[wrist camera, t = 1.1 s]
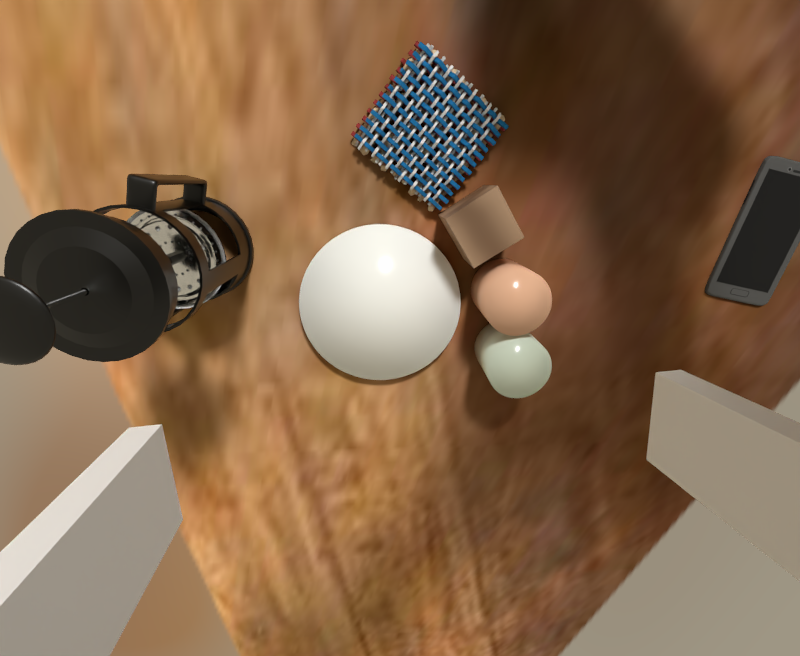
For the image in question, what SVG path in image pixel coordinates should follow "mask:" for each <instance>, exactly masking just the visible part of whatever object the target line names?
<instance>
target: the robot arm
mask: <svg viewBox="0 0 800 656" xmlns="http://www.w3.org/2000/svg"><path fill="white" fill-rule="evenodd" d="M646 460H647V461H649V462H650V463H651V464H652V465H654V466H655V467H656V468H657V469H659V470H660V471H661V472H663V473H664V474H665V475H666V476H668V477H669V478H670V479H671V480H673V481H674V482H675V483H676V484H678V485H679V486H680V487H681V488H683V489H684V490H685V491H686V492H688V493H689V494H690V495H691V496H693V497H694V498H695V499H696V500H698V501H699V502H700V503H702V504H703V505H704V506H705V507H706V508H708V509H709V510H710V511H711V512H713V513H714V514H715V515H717V516H718V517H719V518H720V519H722V520H723V521H724V522H725V523H727V524H728V525H729V526H730V527H732V528H733V529H734V530H735V531H737V532H738V533H739V534H740V535H742V536H743V537H744V538H746V539H747V540H748V541H749V542H750V543H752V544H753V545H754V546H755V547H757V548H758V549H759V550H760V551H762V552H763V553H764V554H766V555H767V556H768V557H769V558H771V559H772V560H773V561H774V562H776V563H777V564H778V565H779V566H781V567H782V568H783V569H784V570H786V571H787V572H788V573H790V574H791V575H792V576H793V577H794V578H796V579H797V580H798V581H799V582H800V423H799V422H796V421H794V420H792V419H790V418H787V417H785V416H783V415H781V414H779V413H776V412H774V411H772V410H770V409H767V408H765V407H763V406H761V405H758V404H756V403H754V402H752V401H750V400H747V399H745V398H743V397H741V396H738V395H736V394H734V393H732V392H729V391H727V390H725V389H723V388H720V387H718V386H716V385H714V384H712V383H709V382H707V381H705V380H703V379H700V378H698V377H696V376H694V375H691V374H689V373H687V372H685V371H683V370H674V371H664V372H656V374H655V383H654V393H653V402H652V411H651V420H650V430H649V439H648V448H647V458H646ZM182 520H183V517H182V513H181V508H180V504H179V499H178V495H177V490H176V486H175V481H174V476H173V472H172V467H171V463H170V458H169V454H168V449H167V445H166V440H165V436H164V431H163V427H162V424H160V425H150V426H141V427H131V428H128V429H127V430H126V431H125V432H124V433H123V434H122V435H121V436H120V437H119V438H118V439H117V440H116V441H115V442H114V443H113V444H112V445H111V446H109V447H108V448H107V449H106V450H105V451H104V452H103V454H101V455H100V456H99V457H98V458H97V459H96V460H95V461H94V462H93V463H92V464H91V465H90V466H89V467H88V468H87V469H86V470H85V471H84V472H83V473H82V474H81V475H80V476H79V477H77V478H76V479H75V480H74V481H73V482H72V483H71V484H70V485H69V486H68V487H67V488H66V489H65V490H64V491H63V492H62V493H61V494H60V495H59V496H58V497H57V498H56V499H55V500H54V501H53V502H52V503H51V504H50V505H49V506H48V507H47V508H46V509H44V510H43V511H42V512H41V513H40V514H39V515H38V516H37V517H36V518H35V519H34V520H33V521H32V522H31V523H30V524H29V525H28V526H27V527H26V528H25V529H24V530H23V531H22V532H21V533H20V534H19V535H18V536H17V537H16V538H15V539H14V540H13V541H11V542H10V543H9V545H7V546H6V547H5V548H4V549H3V550H2V551H1V552H0V656H110V654H111V652H112V650H113V649H114V647H115V645H116V643H117V641H118V640H119V638H120V636H121V634H122V632H123V630H124V628H125V626H126V624H127V623H128V621H129V619H130V617H131V615H132V613H133V612H134V610H135V608H136V606H137V604H138V602H139V600H140V598H141V597H142V595H143V593H144V591H145V589H146V587H147V586H148V584H149V582H150V580H151V578H152V576H153V574H154V572H155V571H156V569H157V567H158V565H159V563H160V561H161V559H162V558H163V556H164V554H165V552H166V550H167V548H168V546H169V544H170V543H171V541H172V539H173V537H174V535H175V533H176V532H177V530H178V528H179V526H180V524H181V522H182Z"/></svg>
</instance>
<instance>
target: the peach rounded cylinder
mask: <svg viewBox="0 0 800 656" xmlns="http://www.w3.org/2000/svg"><path fill="white" fill-rule="evenodd" d="M471 297H472V300H473V302H474V304H475V305H476V307H477V308H478V309H479V310H480V312H481V313H482V314H483V315H484V317H485V318H486V319H487V320H488V322H489V323H490V324H491V325H492V326H493V328H495V329H496V330H497V331H499V332H500V333H503V334H506V335H510V336H519V335H524V334H527V333H530V332H532V331H534V330H535V329H537V328H538V327H539V326H540V325H541V324H542V323H543V322H544V321H545V319H546V318H547V316H548V314H549V312H550V309H551V305H552V294H551V290H550V288H549V286H548V284H547V282H546V281H545V280H544V279H543V278H542V277H541V276H539V275H538V274H536V273H534V272H532V271H531V270H529V269H527V268H526V267H524V266H522V265H520V264H519V263H517V262H515V261H513V260H510V259H495V260H492V261H489V262H487V263H486V264H484V265H483V266H482V267H481V268H480V269H479V270H478V271H477V272H476V274H475V275H474V277H473V280H472V283H471Z"/></svg>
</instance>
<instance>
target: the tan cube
mask: <svg viewBox="0 0 800 656" xmlns="http://www.w3.org/2000/svg"><path fill="white" fill-rule="evenodd" d="M438 216H439V217H440V219H441V221H442V223H443V224H444V226H445V228H446V230H447V231H448V233H449V235H450V237H451V238H452V240H453V242H454V243H455V245H456V247H457V249H458V250H459V252H460V254H461V256H462V257H463V259H464V260H465V261H466V262H468V263H469V264H470V265H471V266H472V267H473V268H475V267H477V266H479V265H480V264H482V263H484V262H485V261H487V260H488V259H490V258H492V257H493V256H495V255H497V254H498V253H500V252H501V251H503V250H505V249H506V248H508V247H510V246H511V245H513V244H514V243H516V242H518V241H519V240H521V239H523V238H524V236H523V234H522V232H521V230H520V228H519V226H518V224H517V222H516V220H515V218H514V216H513V214H512V212H511V210H510V209H509V207H508V205H507V203H506V201H505V199H504V197H503V195H502V193H501V191H500V189H499V187H498V186H492V185H483V186H482V187H480V188H479V189H477V190H475V191H474V192H472V193H471V194H469V195H468V196H466V197H465V198H463V199H461V200H460V201H458V202H457V203H455V204H454V205H452V206H451V207H449V208H447V209H446V210H444V211H443V212H441V213H440V214H438Z"/></svg>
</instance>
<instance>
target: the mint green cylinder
mask: <svg viewBox="0 0 800 656" xmlns="http://www.w3.org/2000/svg"><path fill="white" fill-rule="evenodd" d="M474 349H475V355H476V358H477V360H478V361H479V363H480V365H481V367H482V369H483V370H484V372H485V374H486V376H487V378H488V379H489V381H490V383H491V385H492V386H493V388H494V389H495V390H496V391H497V392H498V393H500V394H502V395H503V396H506V397H510V398H523V397H527V396H530V395H532V394H534V393H536V392H537V391H539V390H540V389H541V388H542V387H543V386H544V385H545V383H546V382H547V380H548V379H549V376H550V374H551V369H552V362H551V358H550V355H549V353H548V351H547V350H546V349H545V348H544V347H543V346H542V345H541V344H540V343H539V342H538V341H537V340H536V339H535V338H534V337H533V336H532V335H531V334H530V333H527V334H524V335H519V336H510V335H506V334H503V333H500V332H499V331H497V330H496V329H495V328H493V326H492V325H491V324H488V325H487V326H485V327H484V328H483V329H482V330H481V331H480V333H479V334H478V336H477V338H476V341H475V347H474Z"/></svg>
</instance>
